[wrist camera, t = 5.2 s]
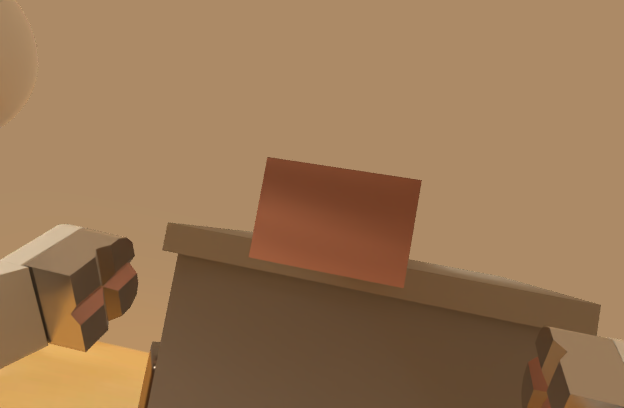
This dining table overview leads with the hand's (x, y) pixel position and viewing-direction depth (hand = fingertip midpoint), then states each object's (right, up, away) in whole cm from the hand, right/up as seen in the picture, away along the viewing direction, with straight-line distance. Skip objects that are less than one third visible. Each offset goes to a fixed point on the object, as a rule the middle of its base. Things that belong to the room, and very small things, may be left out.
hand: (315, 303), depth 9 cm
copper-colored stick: (+3, -1, +12) cm, 13 cm away
